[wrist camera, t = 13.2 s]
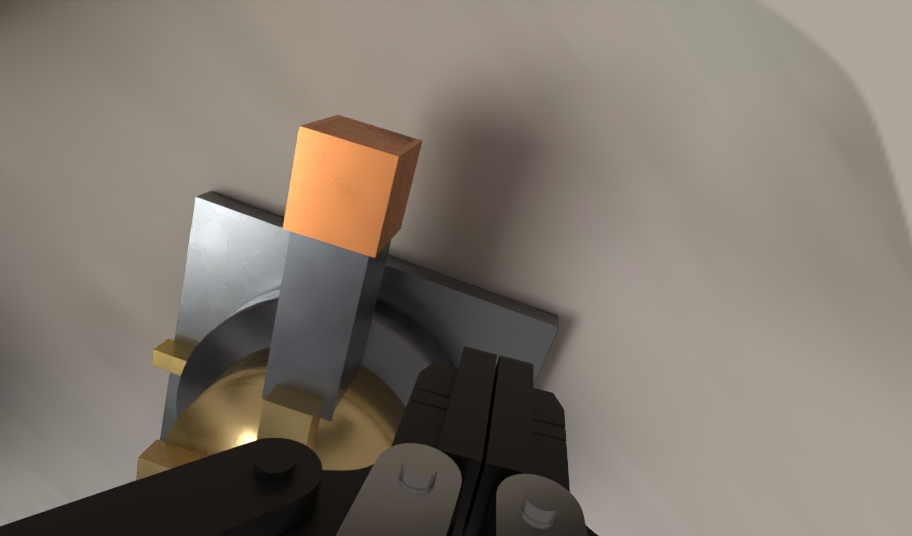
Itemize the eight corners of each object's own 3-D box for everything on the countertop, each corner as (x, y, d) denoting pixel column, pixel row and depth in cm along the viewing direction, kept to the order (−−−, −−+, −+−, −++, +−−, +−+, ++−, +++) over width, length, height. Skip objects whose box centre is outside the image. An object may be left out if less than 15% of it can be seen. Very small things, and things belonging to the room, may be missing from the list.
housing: (447, 573, 29) (413, 734, 22) (161, 465, 30) (42, 590, 23) (558, 316, 24) (559, 425, 17) (202, 188, 24) (61, 243, 17)
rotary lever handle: (397, 567, 25) (369, 656, 21) (191, 496, 25) (129, 572, 22) (524, 170, 18) (516, 200, 15) (242, 84, 19) (167, 93, 15)
